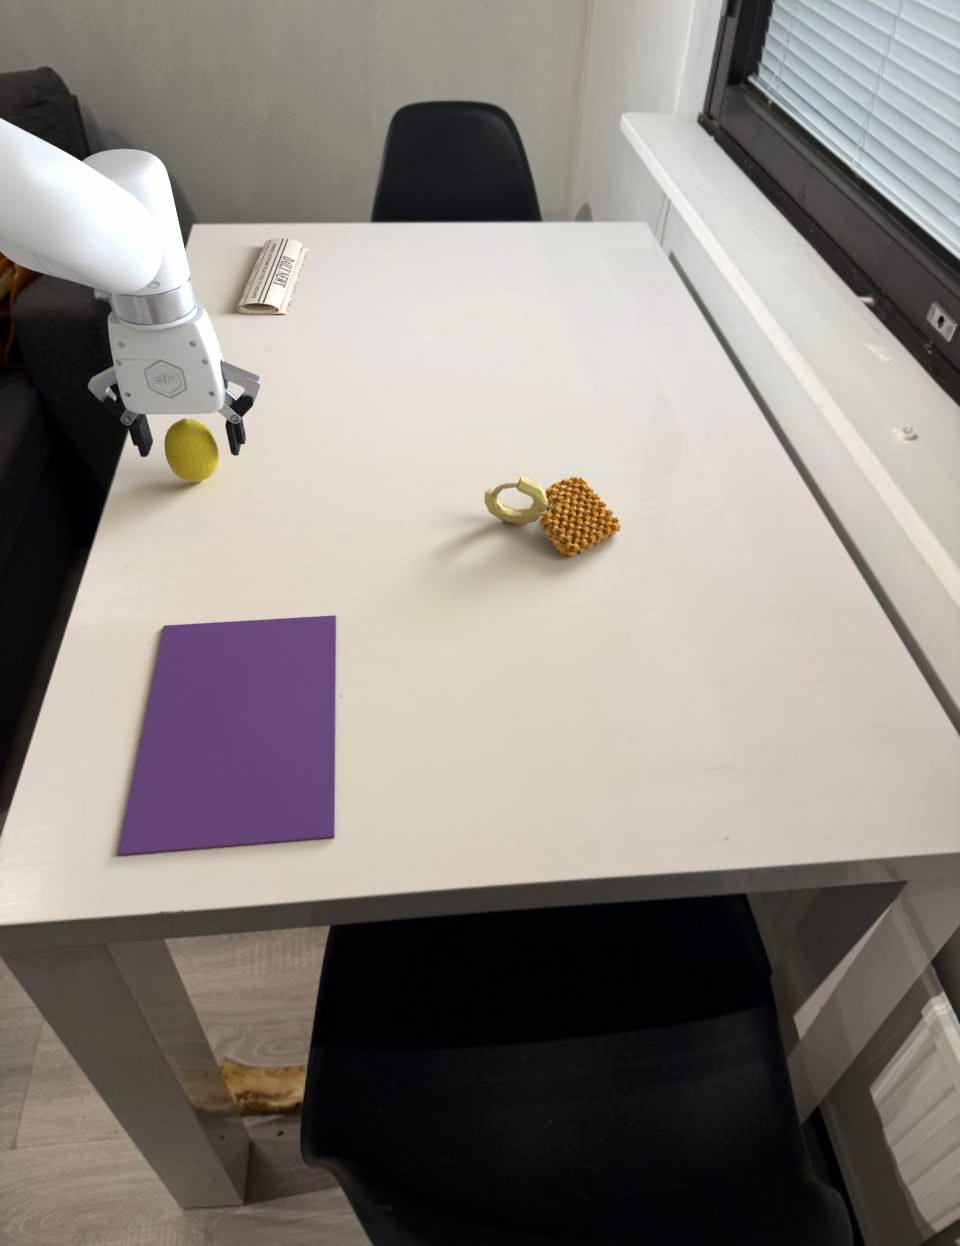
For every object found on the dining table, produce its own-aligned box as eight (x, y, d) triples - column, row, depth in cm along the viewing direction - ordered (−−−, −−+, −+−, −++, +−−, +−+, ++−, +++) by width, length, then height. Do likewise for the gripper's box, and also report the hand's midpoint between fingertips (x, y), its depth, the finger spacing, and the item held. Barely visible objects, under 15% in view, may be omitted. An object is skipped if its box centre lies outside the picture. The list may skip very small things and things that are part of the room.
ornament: (634, 470, 92) (499, 434, 91) (628, 548, 87) (484, 511, 85) (613, 509, 98) (485, 475, 96) (606, 584, 92) (470, 550, 91)
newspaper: (266, 248, 143) (264, 237, 142) (309, 249, 143) (307, 238, 142) (238, 314, 126) (236, 302, 125) (287, 315, 126) (285, 303, 125)
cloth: (334, 838, 66) (334, 836, 66) (118, 856, 65) (117, 854, 64) (336, 617, 83) (335, 615, 83) (164, 627, 81) (163, 625, 81)
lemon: (218, 497, 96) (203, 435, 90) (168, 495, 95) (150, 433, 90) (229, 467, 99) (216, 406, 94) (181, 466, 99) (164, 405, 94)
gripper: (49, 316, 79) (103, 470, 91) (240, 315, 80) (268, 468, 92) (71, 280, 84) (119, 431, 97) (250, 280, 85) (276, 429, 98)
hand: (192, 449), depth 95 cm, fingers open, 9 cm apart
